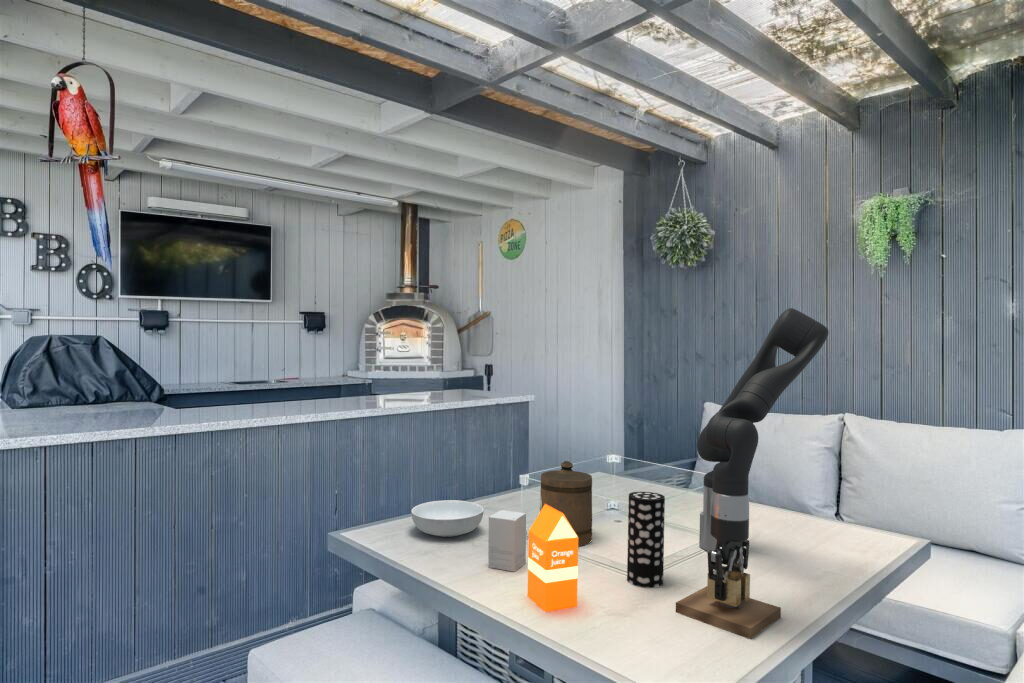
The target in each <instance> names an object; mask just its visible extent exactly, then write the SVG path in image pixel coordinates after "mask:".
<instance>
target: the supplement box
mask: <svg viewBox="0 0 1024 683" xmlns="http://www.w3.org/2000/svg"><path fill="white" fill-rule="evenodd" d="M526 545H527V513H525V512H518V511H510V510H503V509H499V510H498V511H496V512H495V513H493V514H491V515H489V516H488V560H487V561H488V563H487V564H488V568H490V569H497V570H502V571H508V572H512V573H513V572H516V571H517V570H519V569H520V568H522V566H524V565H525V564H526V561H527V560H526V557H527V555H526V554H527V553H526V552H527V550H526V548H527V546H526Z"/></svg>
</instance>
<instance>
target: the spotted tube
mask: <svg viewBox="0 0 1024 683" xmlns="http://www.w3.org/2000/svg"><path fill="white" fill-rule="evenodd" d="M665 498H666V497H665V495H663V494H661V493H657V492H653V491H652V492H651V491H632V492H630V493H628V507H627V508H628V510H627V512H628V513H627V514H628V515H627V517H628V519H627V524H628V525H627V555H626V556H627V557H626V559H627V560H626V561H627V562H626V563H627V565H626V569H627V570H626V581H627V582H628V583H629V584H631V585H632V586H636V587H640V588H647V589H650V588H653V589H654V588H658V587H661V586H663V585H664V562H665V561H664V560H665V558H664V557H665V556H664V552H665V550H664V548H665V509H666V507H665V505H666V504H665V502H666V501H665V500H666V499H665Z"/></svg>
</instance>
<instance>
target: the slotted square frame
mask: <svg viewBox="0 0 1024 683" xmlns="http://www.w3.org/2000/svg"><path fill="white" fill-rule="evenodd" d="M723 572H724V570H722V575H723ZM713 574H714V570H713ZM706 580H707V581H706V582H707V585H706V586H707V598H710V599H713V600H716V601H719V602H722V603H725V604H728V605H731V606H734V607H737V606H738V605H740V604H741V600H742V601H747V600H748V599H750V598H751V592H750V591H751V590H750V589H751V574H750V573H746V572H745V571H744V572H740V571H737V570H733V569H732V570H731V572H729V573H728V577H727V581H726V600H725V601H721V600H717V599H716V598H715V581H714V580H711V579H709V576H708V575H707V579H706Z"/></svg>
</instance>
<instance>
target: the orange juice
mask: <svg viewBox="0 0 1024 683" xmlns="http://www.w3.org/2000/svg"><path fill="white" fill-rule="evenodd" d="M527 551H528V554H527V597H528V598H529V599H530V600H531V601H532V602H533V603H535V605H537V606H538V607H539V608H540V609H541V610H542V611H544V612H545V613H549V612H554V611H559V610H565V609H572V608H577V607H578V578H579V562H578V561H579V547H578V536H577V535H576V533H575V531H574V530H573V528H572V527H571V525H570V524H569V522H568V520H567V519H566V517H565V516H564V514H563V513H562V512H560V511H558V510H556V509H554V508H552V507H550V506H549V505H547V504H545V505H544V507H543V508H542V510H541V511H540V510H539V513H538V515H537V517H536V518H535V520H534V521H533V522H532V525H531V526H530V527H529V529H528V549H527Z"/></svg>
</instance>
